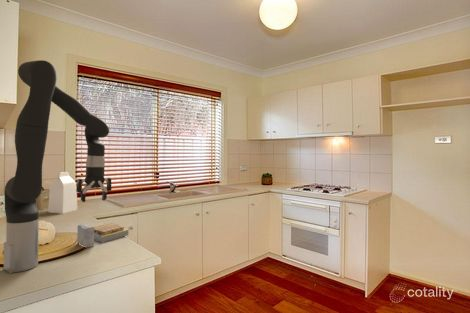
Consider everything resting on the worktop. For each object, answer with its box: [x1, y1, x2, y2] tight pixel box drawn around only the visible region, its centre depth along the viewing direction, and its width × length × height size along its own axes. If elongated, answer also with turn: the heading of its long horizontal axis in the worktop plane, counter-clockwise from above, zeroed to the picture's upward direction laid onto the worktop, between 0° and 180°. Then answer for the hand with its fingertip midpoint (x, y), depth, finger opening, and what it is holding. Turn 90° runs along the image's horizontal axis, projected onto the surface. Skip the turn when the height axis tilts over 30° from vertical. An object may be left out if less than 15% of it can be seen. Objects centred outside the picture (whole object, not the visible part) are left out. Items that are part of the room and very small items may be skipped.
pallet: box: [93, 222, 125, 236], centre depth 134 cm, size 11×11×2 cm
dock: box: [94, 228, 130, 243], centre depth 134 cm, size 14×14×3 cm
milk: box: [47, 171, 78, 215], centre depth 179 cm, size 12×12×26 cm
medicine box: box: [76, 223, 95, 249], centre depth 121 cm, size 8×4×9 cm, turn 48°
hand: (93, 201), depth 123 cm, fingers open, 8 cm apart
